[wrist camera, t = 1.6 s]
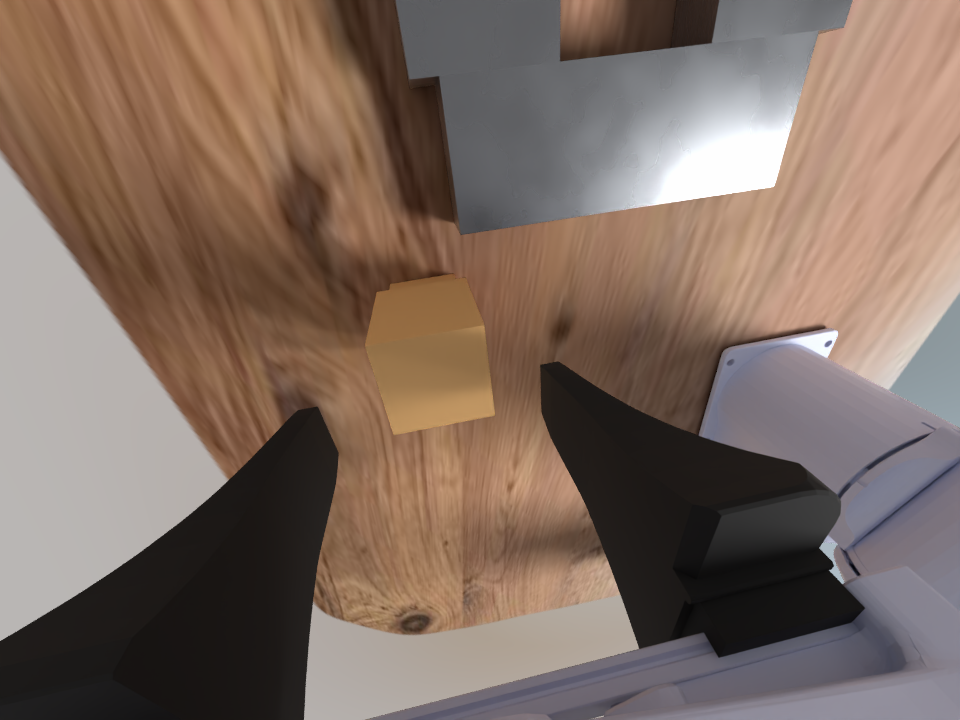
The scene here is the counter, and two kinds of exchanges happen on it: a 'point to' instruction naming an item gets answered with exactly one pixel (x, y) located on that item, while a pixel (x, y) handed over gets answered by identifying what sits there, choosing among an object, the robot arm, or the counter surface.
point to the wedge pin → (429, 354)
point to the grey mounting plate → (608, 105)
